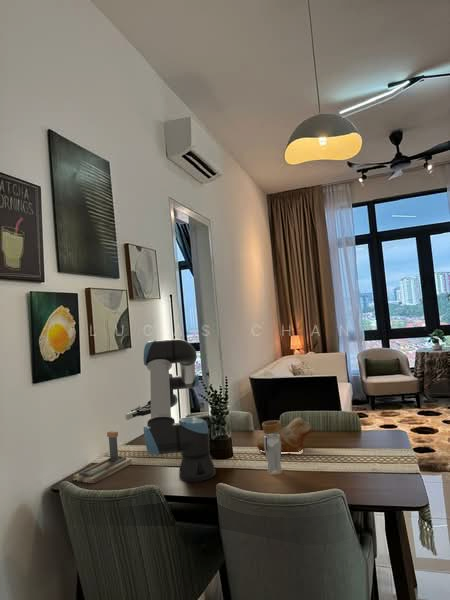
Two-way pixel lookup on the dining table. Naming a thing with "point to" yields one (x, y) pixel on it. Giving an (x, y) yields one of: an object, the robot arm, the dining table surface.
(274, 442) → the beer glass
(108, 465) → the fader console
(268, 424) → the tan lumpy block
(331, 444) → the dining table surface
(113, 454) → the fader lever
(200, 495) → the dining table surface
